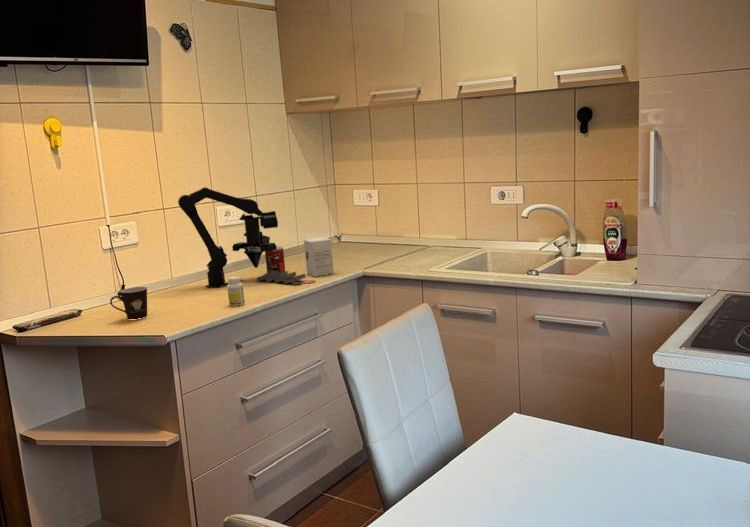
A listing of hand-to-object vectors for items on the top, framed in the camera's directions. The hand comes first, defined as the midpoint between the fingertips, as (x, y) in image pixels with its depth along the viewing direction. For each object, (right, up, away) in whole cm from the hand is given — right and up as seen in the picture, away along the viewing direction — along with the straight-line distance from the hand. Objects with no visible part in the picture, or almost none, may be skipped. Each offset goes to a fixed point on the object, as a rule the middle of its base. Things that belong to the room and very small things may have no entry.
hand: (256, 267), depth 288 cm
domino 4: (+14, -5, -8) cm, 17 cm away
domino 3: (+10, -5, -5) cm, 12 cm away
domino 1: (+2, -5, +1) cm, 5 cm away
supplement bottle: (0, -13, -39) cm, 41 cm away
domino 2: (+6, -5, -2) cm, 8 cm away
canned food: (+6, -3, +15) cm, 16 cm away
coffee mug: (-34, -17, -48) cm, 62 cm away
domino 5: (+17, -6, -8) cm, 20 cm away
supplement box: (+26, -3, +5) cm, 27 cm away
